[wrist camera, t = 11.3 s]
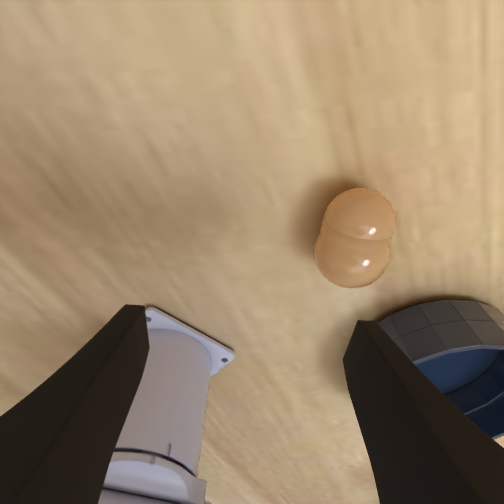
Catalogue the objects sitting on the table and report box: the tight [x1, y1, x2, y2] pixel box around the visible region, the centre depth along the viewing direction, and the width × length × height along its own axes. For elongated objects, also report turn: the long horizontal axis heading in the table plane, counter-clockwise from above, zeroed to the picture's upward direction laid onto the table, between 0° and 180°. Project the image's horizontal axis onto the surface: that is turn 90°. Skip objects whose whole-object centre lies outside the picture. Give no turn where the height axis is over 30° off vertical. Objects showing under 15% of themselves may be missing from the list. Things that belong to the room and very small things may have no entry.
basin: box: [377, 300, 504, 440], centre depth 24 cm, size 13×13×4 cm
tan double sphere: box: [314, 188, 395, 289], centre depth 17 cm, size 6×4×4 cm
